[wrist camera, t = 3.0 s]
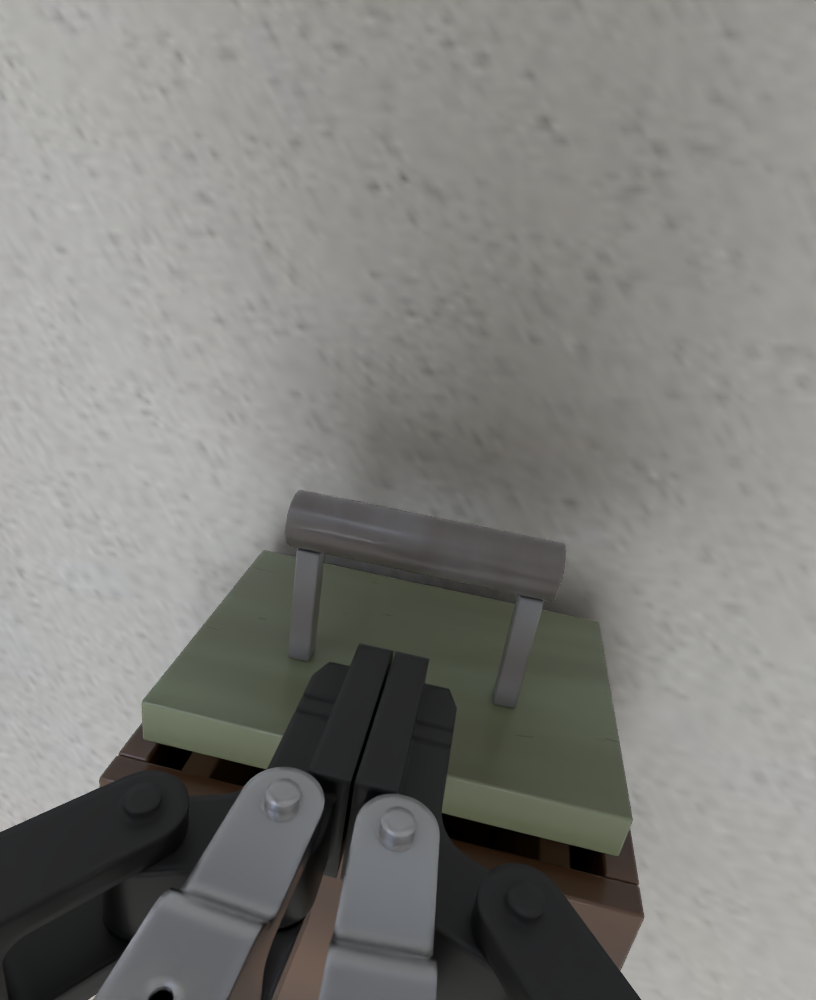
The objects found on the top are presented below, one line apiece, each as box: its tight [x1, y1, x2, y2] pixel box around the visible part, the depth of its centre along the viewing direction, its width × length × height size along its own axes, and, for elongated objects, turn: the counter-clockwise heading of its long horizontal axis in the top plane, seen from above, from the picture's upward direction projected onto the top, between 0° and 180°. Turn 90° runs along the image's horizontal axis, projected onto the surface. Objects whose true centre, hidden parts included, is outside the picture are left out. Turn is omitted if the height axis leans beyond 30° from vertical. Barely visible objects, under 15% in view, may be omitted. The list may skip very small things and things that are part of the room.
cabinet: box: [99, 724, 644, 1000], centre depth 22 cm, size 15×13×10 cm
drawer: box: [142, 490, 633, 868], centre depth 20 cm, size 18×11×8 cm, turn 172°
